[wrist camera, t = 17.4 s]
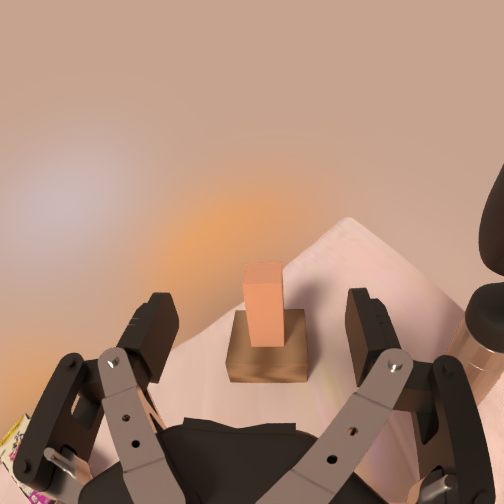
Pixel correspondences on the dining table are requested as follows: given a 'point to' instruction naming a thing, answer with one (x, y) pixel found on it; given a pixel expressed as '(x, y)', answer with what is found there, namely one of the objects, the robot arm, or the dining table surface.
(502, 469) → the dining table surface
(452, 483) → the robot arm
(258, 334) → the terracotta block
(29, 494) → the candy bar box
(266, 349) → the walnut block
